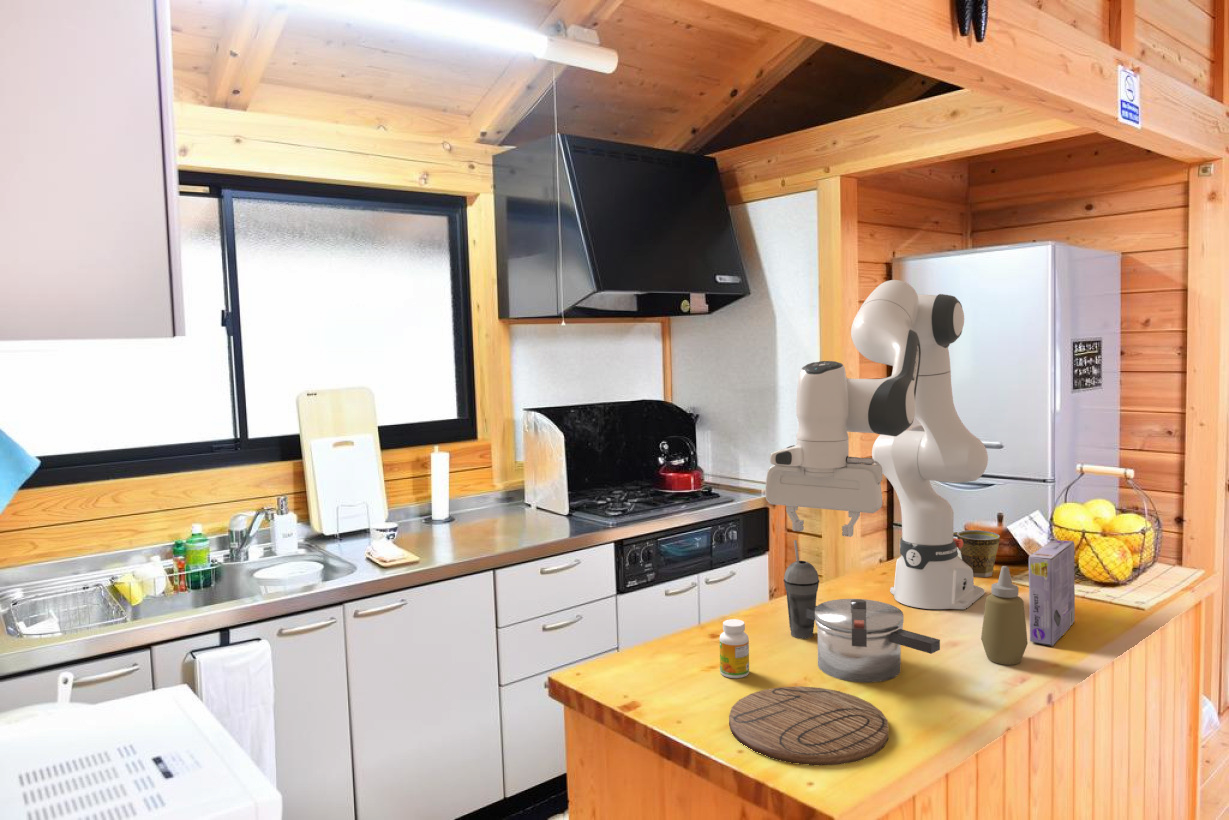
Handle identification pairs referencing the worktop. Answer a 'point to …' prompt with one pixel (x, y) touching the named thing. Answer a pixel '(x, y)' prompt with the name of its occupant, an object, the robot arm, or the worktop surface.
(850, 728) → the trivet
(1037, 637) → the cake pan box
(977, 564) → the ceramic cup
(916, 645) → the pot
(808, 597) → the beverage cup
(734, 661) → the supplement bottle
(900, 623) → the lid
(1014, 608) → the squeeze bottle
